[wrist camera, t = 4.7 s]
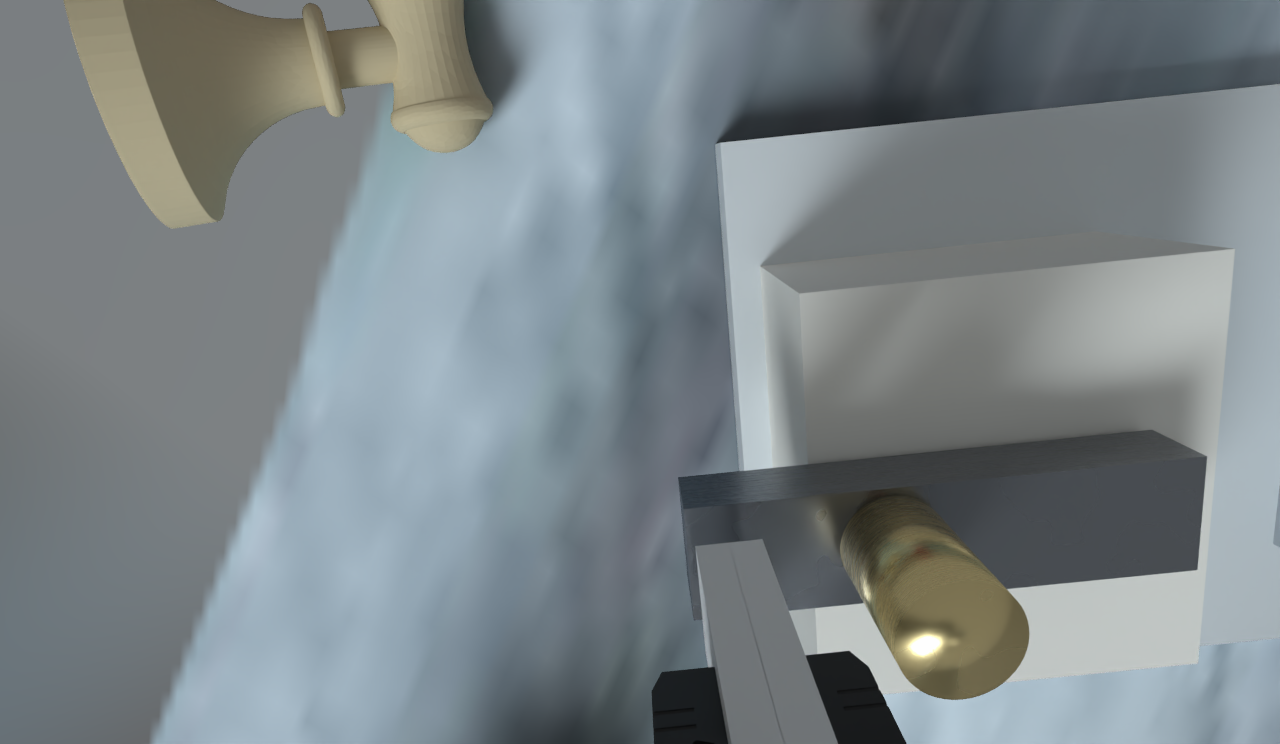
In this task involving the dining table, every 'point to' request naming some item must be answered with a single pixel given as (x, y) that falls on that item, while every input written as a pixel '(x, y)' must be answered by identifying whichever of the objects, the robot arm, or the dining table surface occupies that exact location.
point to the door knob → (260, 84)
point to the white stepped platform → (1027, 332)
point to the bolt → (958, 538)
